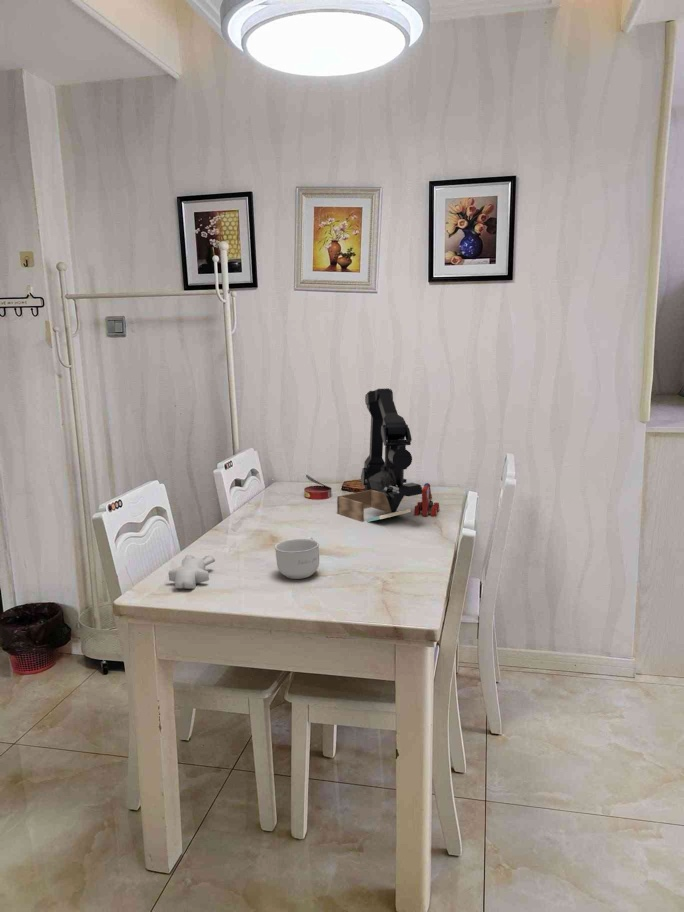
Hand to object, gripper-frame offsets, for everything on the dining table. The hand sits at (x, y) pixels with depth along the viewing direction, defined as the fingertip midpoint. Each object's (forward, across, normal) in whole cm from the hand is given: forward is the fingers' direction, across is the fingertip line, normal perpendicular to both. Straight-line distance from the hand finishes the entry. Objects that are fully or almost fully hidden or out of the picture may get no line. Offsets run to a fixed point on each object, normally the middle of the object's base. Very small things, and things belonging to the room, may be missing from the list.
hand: (393, 512), depth 206 cm
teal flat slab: (+3, -5, 0) cm, 6 cm away
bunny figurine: (+5, +2, -68) cm, 68 cm away
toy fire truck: (+4, -2, +16) cm, 17 cm away
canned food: (+5, -45, +5) cm, 46 cm away
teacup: (+5, +15, -45) cm, 47 cm away
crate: (+4, -13, 0) cm, 13 cm away
